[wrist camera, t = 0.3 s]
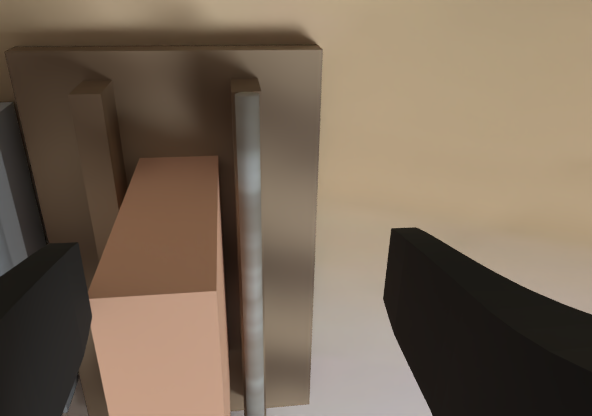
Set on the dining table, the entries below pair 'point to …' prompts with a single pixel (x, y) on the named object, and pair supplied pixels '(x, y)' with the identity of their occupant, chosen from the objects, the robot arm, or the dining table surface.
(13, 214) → the tray
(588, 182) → the dining table surface
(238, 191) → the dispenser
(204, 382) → the tan flat block
